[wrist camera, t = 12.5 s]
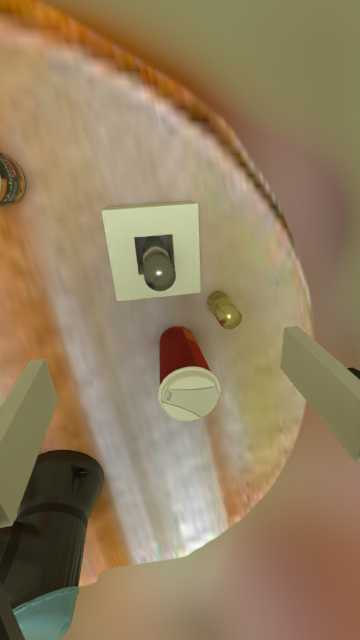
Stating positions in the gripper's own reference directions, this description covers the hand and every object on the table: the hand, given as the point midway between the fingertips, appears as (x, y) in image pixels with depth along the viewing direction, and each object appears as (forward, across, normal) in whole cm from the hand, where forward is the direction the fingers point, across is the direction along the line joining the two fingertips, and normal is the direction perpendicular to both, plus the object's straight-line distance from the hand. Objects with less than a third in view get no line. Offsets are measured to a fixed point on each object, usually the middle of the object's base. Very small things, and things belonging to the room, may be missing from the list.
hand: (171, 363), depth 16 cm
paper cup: (+27, +3, -14) cm, 31 cm away
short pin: (+27, +10, -8) cm, 29 cm away
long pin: (+27, +1, +1) cm, 27 cm away
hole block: (+27, +1, +1) cm, 27 cm away
